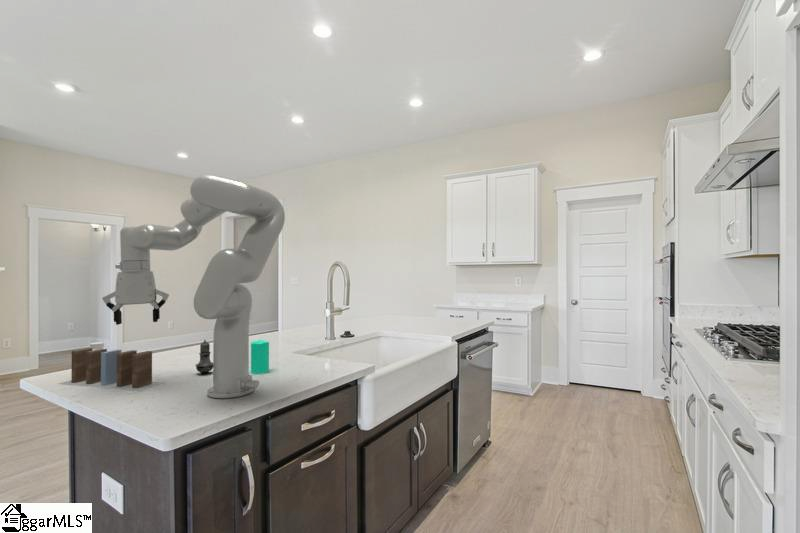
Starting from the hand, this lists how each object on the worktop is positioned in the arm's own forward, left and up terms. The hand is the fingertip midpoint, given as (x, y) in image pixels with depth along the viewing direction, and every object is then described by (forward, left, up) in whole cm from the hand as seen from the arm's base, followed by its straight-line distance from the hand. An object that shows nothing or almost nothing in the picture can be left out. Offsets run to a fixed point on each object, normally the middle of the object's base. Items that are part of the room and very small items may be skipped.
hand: (137, 322), depth 123 cm
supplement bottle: (+30, -11, -20) cm, 37 cm away
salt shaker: (-10, -17, -20) cm, 28 cm away
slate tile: (+10, 0, -19) cm, 22 cm away
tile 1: (-2, 0, -19) cm, 19 cm away
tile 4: (+16, 0, -19) cm, 25 cm away
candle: (-26, -25, -20) cm, 41 cm away
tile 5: (+22, 0, -19) cm, 29 cm away
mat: (+10, 0, -20) cm, 22 cm away
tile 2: (+4, 0, -19) cm, 19 cm away
